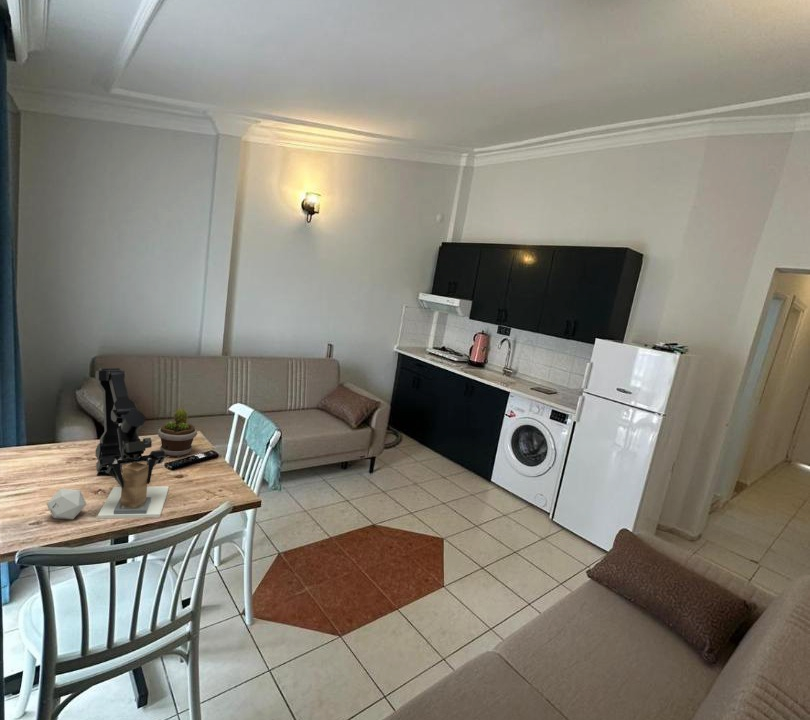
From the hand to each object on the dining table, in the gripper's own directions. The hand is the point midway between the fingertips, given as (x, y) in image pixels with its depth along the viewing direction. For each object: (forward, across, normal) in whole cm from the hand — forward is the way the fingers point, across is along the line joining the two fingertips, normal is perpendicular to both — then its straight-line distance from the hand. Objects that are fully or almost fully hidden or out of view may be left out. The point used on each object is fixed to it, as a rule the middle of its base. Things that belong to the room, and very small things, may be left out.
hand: (135, 485), depth 145 cm
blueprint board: (+2, +2, +11) cm, 11 cm away
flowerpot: (-24, +26, +37) cm, 51 cm away
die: (+3, -17, +10) cm, 20 cm away
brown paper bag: (+4, 0, +6) cm, 7 cm away
